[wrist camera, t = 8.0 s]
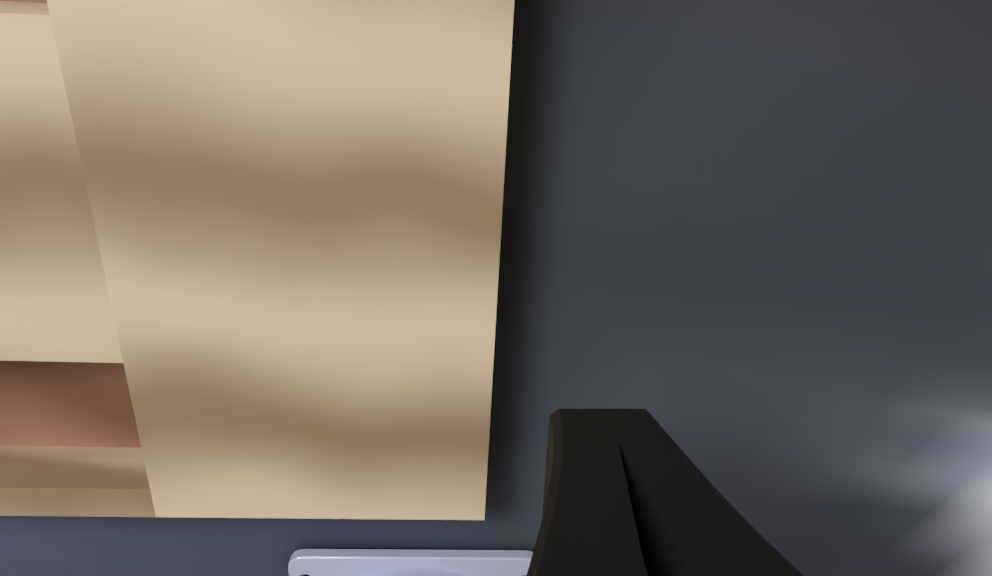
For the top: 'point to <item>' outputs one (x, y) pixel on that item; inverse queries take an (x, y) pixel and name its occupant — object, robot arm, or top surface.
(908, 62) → the top surface
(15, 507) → the trap deck
